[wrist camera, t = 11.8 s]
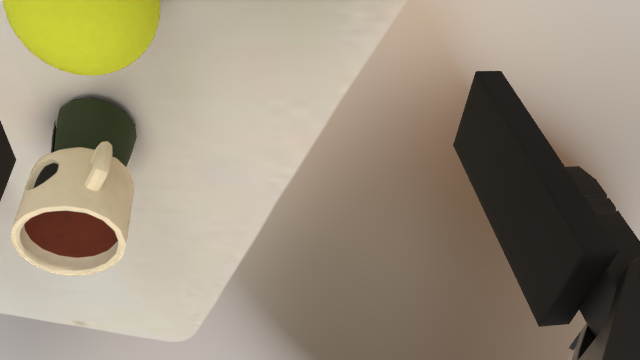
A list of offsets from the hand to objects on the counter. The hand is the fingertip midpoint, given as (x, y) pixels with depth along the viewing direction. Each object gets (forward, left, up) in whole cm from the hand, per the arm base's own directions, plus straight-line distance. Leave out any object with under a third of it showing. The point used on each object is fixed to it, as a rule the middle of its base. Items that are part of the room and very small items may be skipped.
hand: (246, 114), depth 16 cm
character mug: (+21, +8, -27) cm, 35 cm away
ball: (+9, -1, -18) cm, 20 cm away
